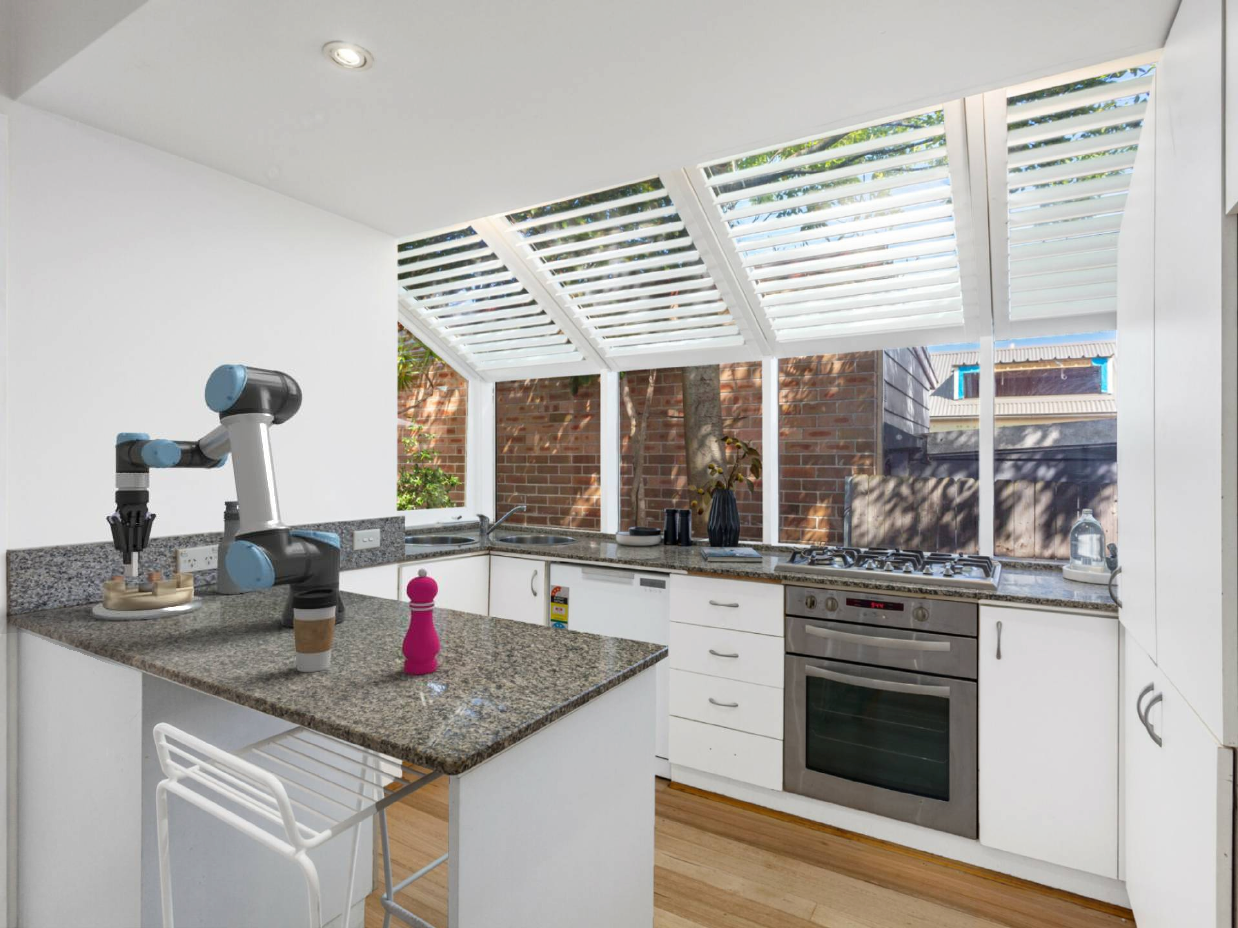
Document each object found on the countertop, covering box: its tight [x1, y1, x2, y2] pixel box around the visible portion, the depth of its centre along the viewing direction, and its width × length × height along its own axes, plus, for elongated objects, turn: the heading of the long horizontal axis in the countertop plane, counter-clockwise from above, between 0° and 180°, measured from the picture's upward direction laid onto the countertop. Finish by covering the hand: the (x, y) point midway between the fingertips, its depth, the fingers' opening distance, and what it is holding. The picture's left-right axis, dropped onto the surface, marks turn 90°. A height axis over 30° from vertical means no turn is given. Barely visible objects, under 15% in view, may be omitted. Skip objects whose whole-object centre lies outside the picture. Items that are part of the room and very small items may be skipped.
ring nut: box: [102, 571, 195, 610], centre depth 182 cm, size 20×20×6 cm
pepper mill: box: [401, 567, 441, 675], centre depth 134 cm, size 7×7×20 cm
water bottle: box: [216, 500, 253, 595], centre depth 210 cm, size 10×10×28 cm
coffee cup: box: [291, 588, 338, 673], centre depth 134 cm, size 8×8×15 cm
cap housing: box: [92, 595, 203, 622], centre depth 182 cm, size 24×24×4 cm
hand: (131, 575), depth 185 cm, fingers closed
